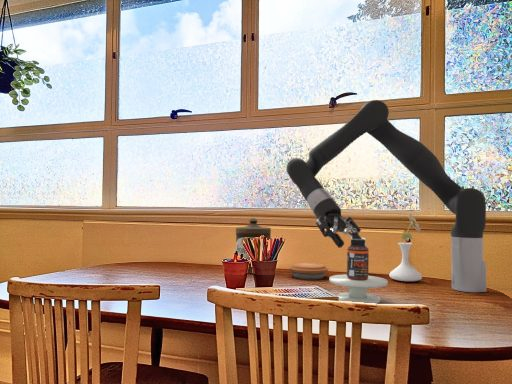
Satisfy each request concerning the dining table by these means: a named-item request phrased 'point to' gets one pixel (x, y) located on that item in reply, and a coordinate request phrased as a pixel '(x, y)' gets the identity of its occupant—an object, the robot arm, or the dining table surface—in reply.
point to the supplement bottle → (357, 260)
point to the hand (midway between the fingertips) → (351, 245)
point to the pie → (308, 270)
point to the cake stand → (358, 288)
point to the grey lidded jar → (250, 232)
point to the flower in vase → (406, 259)
